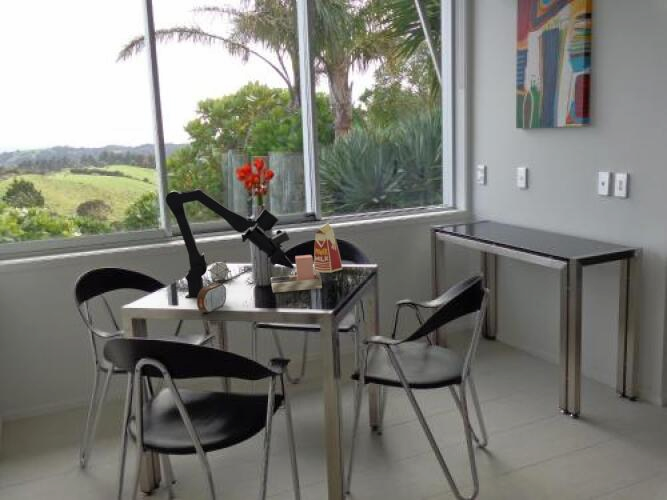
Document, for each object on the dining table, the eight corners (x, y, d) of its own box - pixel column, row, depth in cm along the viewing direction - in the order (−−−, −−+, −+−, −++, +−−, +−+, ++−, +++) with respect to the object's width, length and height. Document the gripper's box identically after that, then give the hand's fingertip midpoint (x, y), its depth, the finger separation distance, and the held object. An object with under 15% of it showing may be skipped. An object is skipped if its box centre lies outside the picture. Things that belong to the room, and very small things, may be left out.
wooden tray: (273, 292, 242) (272, 281, 242) (271, 285, 255) (270, 274, 255) (321, 287, 245) (321, 277, 244) (317, 280, 257) (317, 270, 257)
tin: (221, 303, 231) (218, 280, 229) (229, 304, 230) (226, 280, 228) (197, 315, 217) (194, 290, 216) (205, 316, 216) (203, 290, 215)
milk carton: (326, 267, 283) (323, 220, 279) (343, 269, 277) (340, 221, 274) (312, 271, 276) (309, 224, 272) (329, 273, 270) (326, 224, 267)
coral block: (298, 284, 247) (296, 258, 246) (297, 282, 252) (295, 256, 251) (314, 283, 248) (312, 257, 246) (312, 280, 253) (311, 254, 251)
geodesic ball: (225, 288, 273) (237, 267, 274) (219, 285, 264) (232, 263, 265) (207, 277, 274) (219, 256, 275) (200, 274, 266) (213, 252, 267)
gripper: (276, 227, 236) (309, 255, 239) (274, 221, 254) (304, 247, 257) (256, 251, 236) (289, 278, 240) (255, 243, 255) (286, 269, 258)
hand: (293, 267), depth 249 cm, fingers closed
